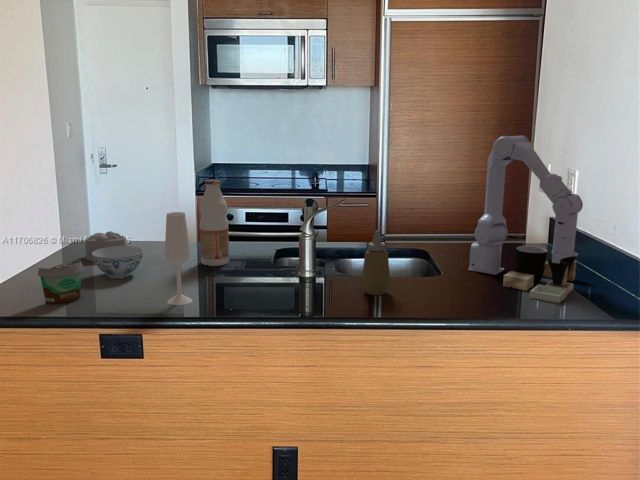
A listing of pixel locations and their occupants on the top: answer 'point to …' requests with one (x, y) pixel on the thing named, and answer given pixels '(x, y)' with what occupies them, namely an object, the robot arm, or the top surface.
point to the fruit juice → (214, 226)
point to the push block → (518, 280)
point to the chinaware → (118, 260)
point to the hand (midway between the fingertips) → (559, 282)
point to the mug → (531, 261)
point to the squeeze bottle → (376, 268)
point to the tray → (548, 293)
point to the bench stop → (570, 277)
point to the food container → (62, 283)
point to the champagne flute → (177, 250)
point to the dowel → (563, 280)
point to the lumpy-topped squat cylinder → (103, 242)
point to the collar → (568, 286)
